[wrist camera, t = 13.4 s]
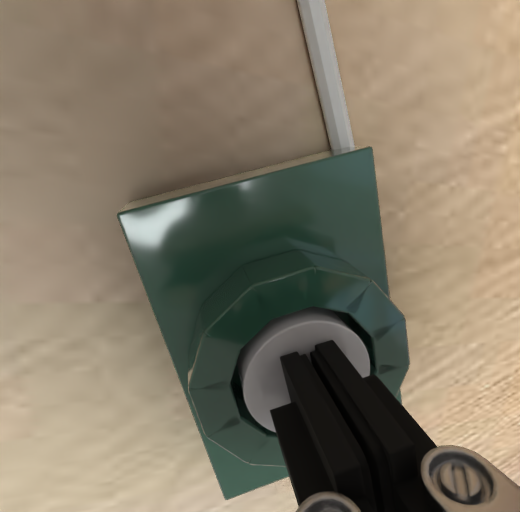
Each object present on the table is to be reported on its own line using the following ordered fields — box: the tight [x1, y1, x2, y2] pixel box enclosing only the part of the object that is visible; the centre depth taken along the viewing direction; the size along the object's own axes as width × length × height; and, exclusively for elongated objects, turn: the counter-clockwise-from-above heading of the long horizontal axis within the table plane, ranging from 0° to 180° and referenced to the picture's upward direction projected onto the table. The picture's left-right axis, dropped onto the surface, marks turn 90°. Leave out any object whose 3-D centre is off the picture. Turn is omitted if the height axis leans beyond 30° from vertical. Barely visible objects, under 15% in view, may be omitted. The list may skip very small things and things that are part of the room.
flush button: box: [236, 306, 370, 432], centre depth 11 cm, size 4×4×2 cm
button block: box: [117, 146, 410, 500], centre depth 12 cm, size 12×8×4 cm, turn 13°
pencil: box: [297, 0, 355, 150], centre depth 12 cm, size 1×1×15 cm
